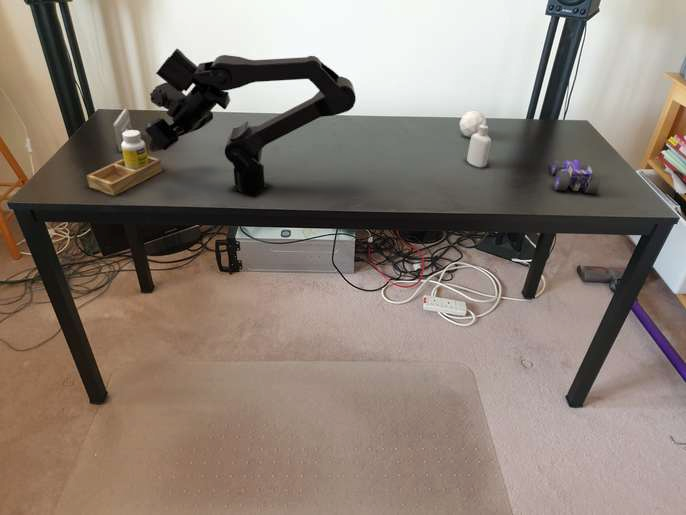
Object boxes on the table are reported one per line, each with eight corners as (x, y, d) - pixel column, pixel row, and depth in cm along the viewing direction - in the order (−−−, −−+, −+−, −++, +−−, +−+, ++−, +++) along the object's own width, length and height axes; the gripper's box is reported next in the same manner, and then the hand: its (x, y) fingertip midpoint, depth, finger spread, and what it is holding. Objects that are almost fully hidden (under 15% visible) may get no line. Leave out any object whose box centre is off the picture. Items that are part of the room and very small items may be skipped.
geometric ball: (462, 144, 160) (450, 120, 159) (483, 132, 162) (472, 108, 160) (473, 141, 153) (461, 116, 152) (495, 128, 154) (484, 103, 153)
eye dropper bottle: (480, 159, 146) (489, 117, 139) (487, 168, 141) (496, 125, 134) (465, 159, 145) (473, 117, 138) (471, 168, 141) (480, 125, 134)
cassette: (124, 152, 140) (118, 124, 136) (117, 152, 140) (111, 124, 135) (135, 134, 150) (129, 108, 145) (128, 134, 150) (122, 107, 145)
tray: (162, 170, 132) (160, 159, 130) (114, 196, 121) (111, 184, 119) (138, 163, 135) (136, 152, 133) (89, 187, 124) (86, 175, 122)
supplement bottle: (143, 176, 128) (135, 138, 122) (122, 173, 128) (113, 135, 123) (153, 167, 132) (147, 130, 126) (134, 164, 133) (126, 127, 127)
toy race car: (581, 170, 142) (589, 148, 138) (595, 197, 130) (604, 173, 126) (545, 167, 143) (552, 144, 139) (556, 193, 131) (563, 169, 127)
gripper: (195, 62, 120) (162, 103, 129) (144, 86, 106) (111, 129, 115) (229, 101, 123) (194, 138, 132) (183, 130, 108) (147, 168, 118)
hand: (163, 142), depth 124 cm, fingers open, 9 cm apart
